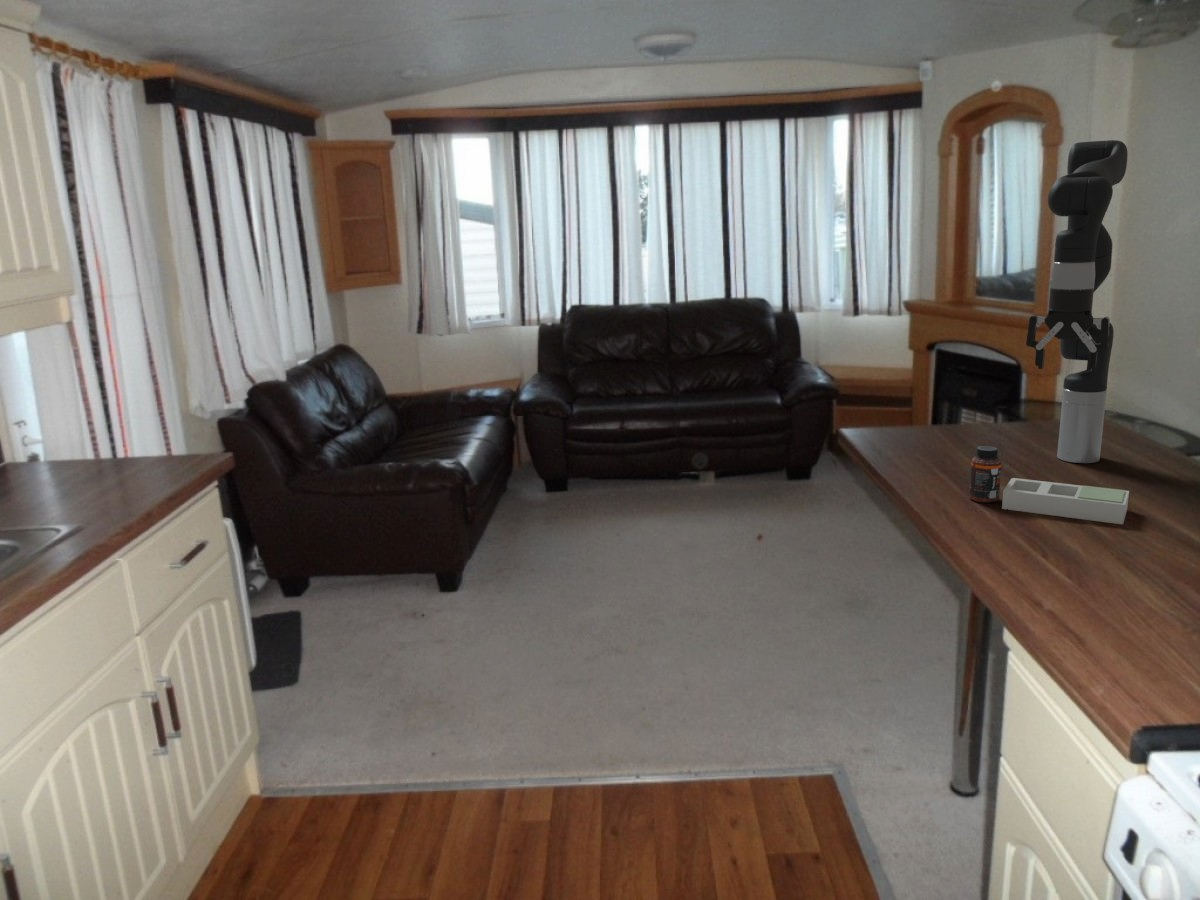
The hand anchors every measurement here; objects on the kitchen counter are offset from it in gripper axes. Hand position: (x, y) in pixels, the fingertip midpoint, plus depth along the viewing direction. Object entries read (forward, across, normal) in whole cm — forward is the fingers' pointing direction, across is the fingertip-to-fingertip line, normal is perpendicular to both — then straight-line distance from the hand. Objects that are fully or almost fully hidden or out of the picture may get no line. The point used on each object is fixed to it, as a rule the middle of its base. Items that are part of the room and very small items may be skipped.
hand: (1064, 369), depth 184 cm
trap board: (+29, -2, -3) cm, 30 cm away
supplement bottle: (+30, +14, -3) cm, 33 cm away
